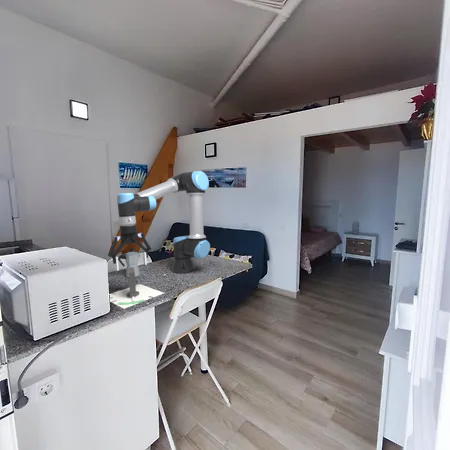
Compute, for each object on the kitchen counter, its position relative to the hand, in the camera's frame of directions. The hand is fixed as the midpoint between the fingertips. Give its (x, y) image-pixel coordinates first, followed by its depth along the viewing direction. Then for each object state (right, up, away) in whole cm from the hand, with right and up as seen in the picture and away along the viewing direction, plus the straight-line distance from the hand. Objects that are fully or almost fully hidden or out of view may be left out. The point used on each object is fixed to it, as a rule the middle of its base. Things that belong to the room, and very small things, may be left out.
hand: (131, 267), depth 126 cm
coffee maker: (-13, -12, +36) cm, 40 cm away
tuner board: (0, -15, +2) cm, 16 cm away
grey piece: (+1, -14, -1) cm, 14 cm away
